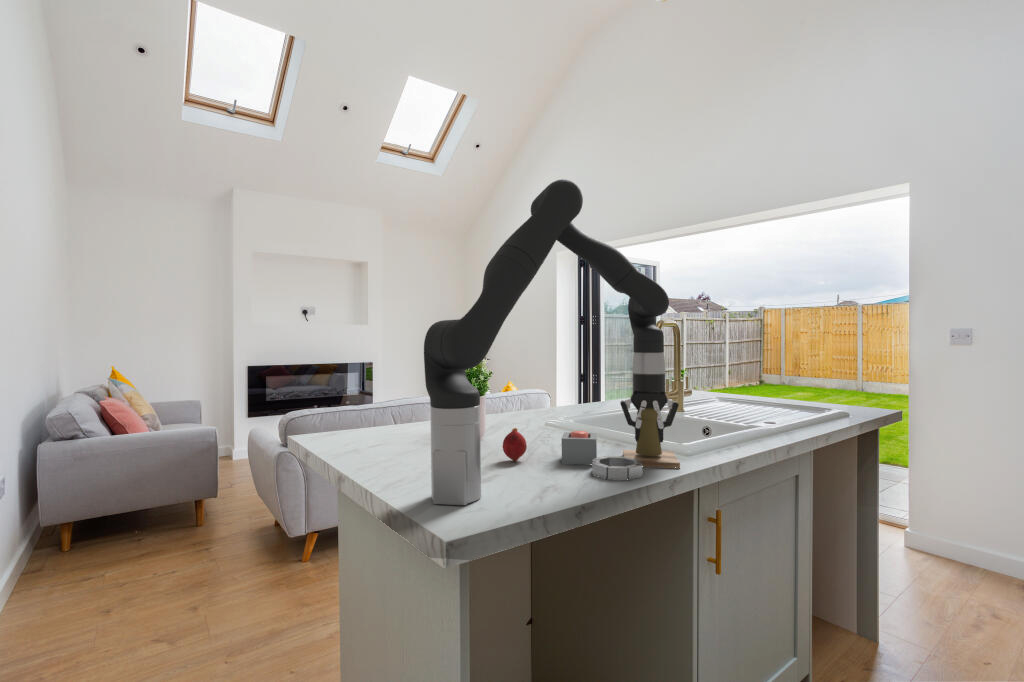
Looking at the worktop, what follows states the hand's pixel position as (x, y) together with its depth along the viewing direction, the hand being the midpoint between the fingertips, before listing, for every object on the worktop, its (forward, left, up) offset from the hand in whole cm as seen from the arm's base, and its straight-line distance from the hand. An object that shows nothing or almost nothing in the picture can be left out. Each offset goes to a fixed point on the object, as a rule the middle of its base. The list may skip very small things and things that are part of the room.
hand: (649, 443), depth 120 cm
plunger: (-1, +16, -4) cm, 17 cm away
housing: (-1, +16, -4) cm, 17 cm away
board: (0, 0, -4) cm, 4 cm away
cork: (0, 0, -3) cm, 3 cm away
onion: (-4, +32, -5) cm, 32 cm away
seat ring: (-12, +8, -4) cm, 15 cm away
